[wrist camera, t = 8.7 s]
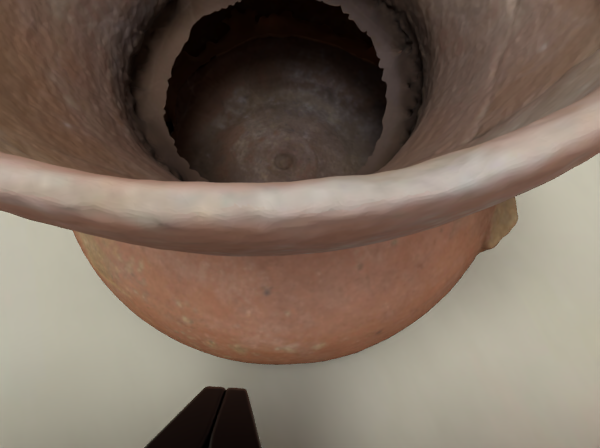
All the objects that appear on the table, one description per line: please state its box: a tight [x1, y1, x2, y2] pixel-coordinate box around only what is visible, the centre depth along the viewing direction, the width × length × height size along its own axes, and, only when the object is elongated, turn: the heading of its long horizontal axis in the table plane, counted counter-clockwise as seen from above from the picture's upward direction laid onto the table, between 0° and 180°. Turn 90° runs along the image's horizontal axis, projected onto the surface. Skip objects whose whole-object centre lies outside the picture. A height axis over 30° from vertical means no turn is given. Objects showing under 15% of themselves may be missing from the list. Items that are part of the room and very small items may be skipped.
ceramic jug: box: [0, 0, 600, 365], centre depth 11 cm, size 18×14×14 cm
